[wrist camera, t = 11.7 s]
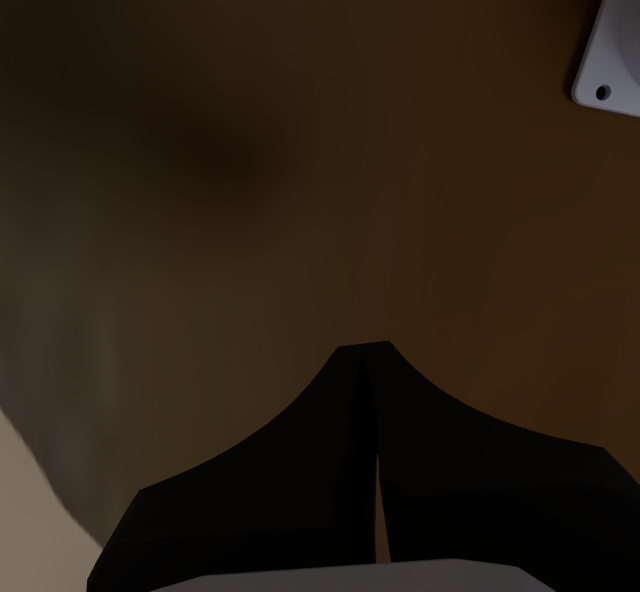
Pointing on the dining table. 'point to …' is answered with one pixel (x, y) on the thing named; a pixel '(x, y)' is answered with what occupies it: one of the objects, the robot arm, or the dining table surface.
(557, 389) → the dining table surface
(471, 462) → the robot arm
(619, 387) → the dining table surface
